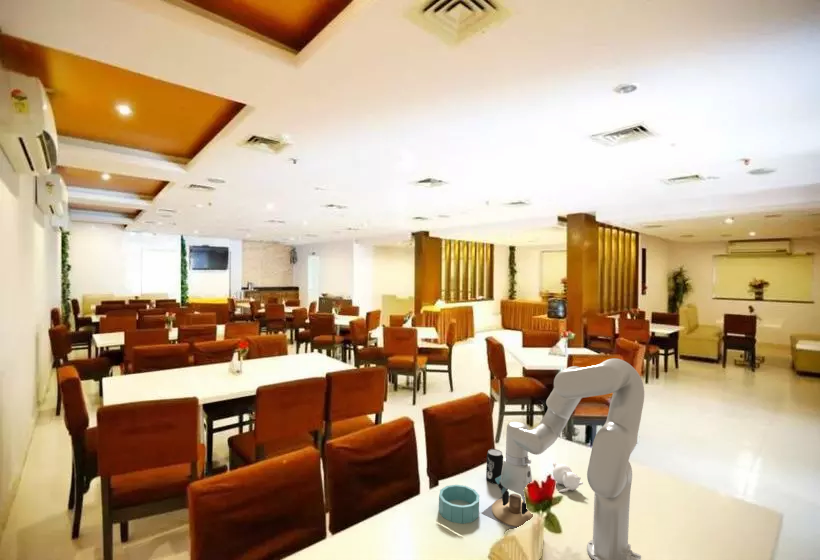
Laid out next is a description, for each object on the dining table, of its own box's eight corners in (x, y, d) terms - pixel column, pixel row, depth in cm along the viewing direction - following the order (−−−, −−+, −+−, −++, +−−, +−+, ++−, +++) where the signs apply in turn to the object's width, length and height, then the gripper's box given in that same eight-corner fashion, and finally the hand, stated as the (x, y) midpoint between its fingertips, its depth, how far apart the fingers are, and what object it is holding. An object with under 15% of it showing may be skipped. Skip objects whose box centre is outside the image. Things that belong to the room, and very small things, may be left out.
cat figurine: (579, 470, 156) (559, 455, 167) (559, 487, 154) (540, 471, 165) (588, 486, 158) (567, 471, 169) (568, 504, 155) (548, 487, 167)
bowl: (486, 511, 143) (486, 495, 143) (463, 530, 132) (464, 512, 132) (454, 496, 152) (454, 480, 152) (431, 512, 142) (431, 495, 142)
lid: (546, 512, 142) (546, 496, 142) (525, 533, 131) (526, 516, 130) (505, 495, 153) (506, 480, 153) (483, 513, 141) (483, 496, 141)
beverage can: (502, 486, 160) (503, 456, 160) (486, 484, 162) (486, 454, 162) (502, 478, 167) (503, 449, 167) (486, 476, 168) (487, 447, 168)
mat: (547, 514, 142) (547, 512, 142) (526, 536, 130) (526, 535, 130) (505, 495, 154) (505, 494, 154) (481, 514, 141) (481, 513, 141)
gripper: (544, 463, 138) (542, 514, 139) (500, 447, 150) (498, 494, 150) (535, 470, 133) (533, 523, 133) (489, 453, 144) (488, 502, 145)
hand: (514, 507), depth 142 cm, fingers open, 6 cm apart
